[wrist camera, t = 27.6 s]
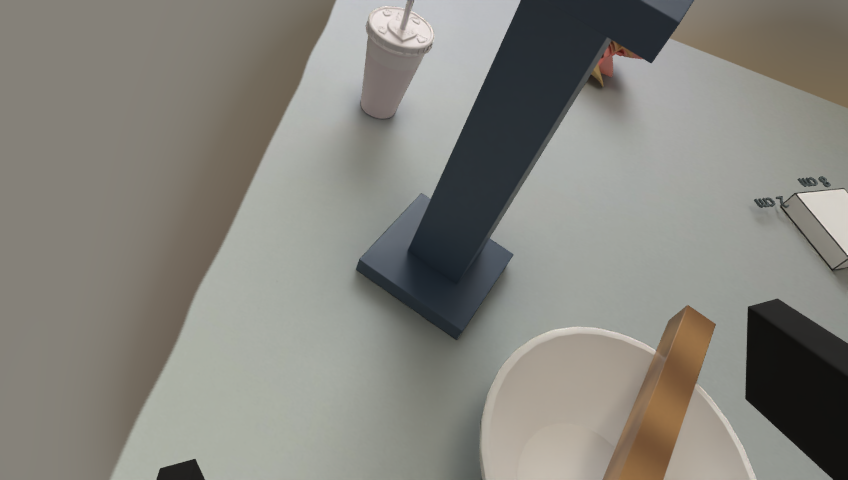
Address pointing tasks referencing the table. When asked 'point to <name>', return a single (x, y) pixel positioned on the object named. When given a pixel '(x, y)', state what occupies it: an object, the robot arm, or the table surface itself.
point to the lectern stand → (505, 150)
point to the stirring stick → (662, 400)
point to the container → (820, 219)
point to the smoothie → (392, 57)
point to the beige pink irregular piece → (610, 60)
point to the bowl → (590, 413)
